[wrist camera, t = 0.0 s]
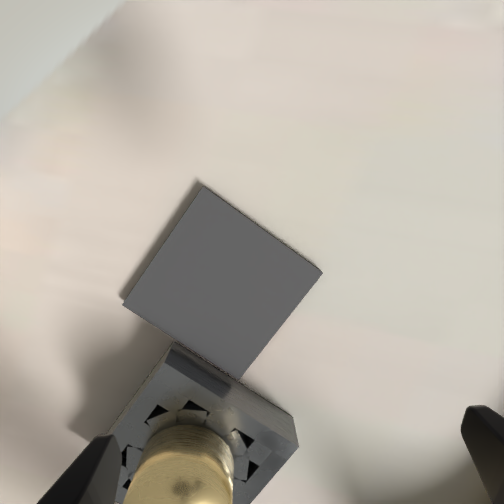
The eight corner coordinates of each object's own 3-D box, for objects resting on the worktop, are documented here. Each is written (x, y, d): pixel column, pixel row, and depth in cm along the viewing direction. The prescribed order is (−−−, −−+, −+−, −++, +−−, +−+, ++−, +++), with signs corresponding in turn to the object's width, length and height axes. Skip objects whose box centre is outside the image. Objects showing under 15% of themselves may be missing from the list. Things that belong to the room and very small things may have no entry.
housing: (212, 513, 28) (208, 552, 25) (96, 447, 26) (77, 480, 23) (292, 417, 26) (299, 446, 23) (173, 341, 25) (164, 362, 22)
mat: (238, 375, 25) (238, 379, 25) (124, 301, 24) (121, 304, 23) (321, 270, 24) (322, 273, 23) (204, 186, 22) (203, 186, 22)
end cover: (205, 480, 27) (190, 584, 20) (137, 440, 26) (97, 534, 19) (251, 423, 26) (253, 511, 19) (182, 380, 25) (158, 456, 18)
